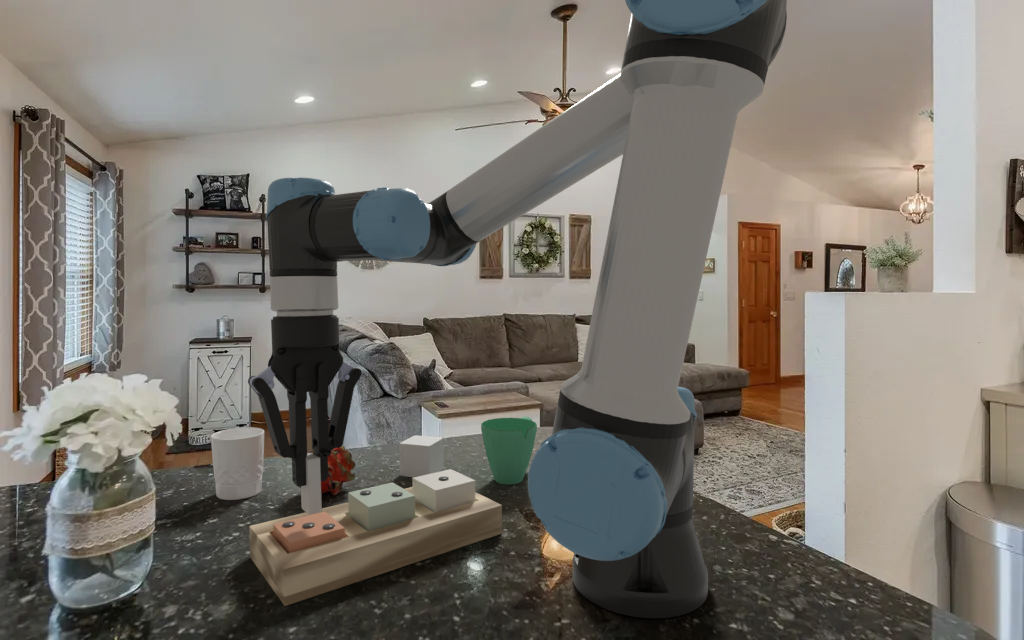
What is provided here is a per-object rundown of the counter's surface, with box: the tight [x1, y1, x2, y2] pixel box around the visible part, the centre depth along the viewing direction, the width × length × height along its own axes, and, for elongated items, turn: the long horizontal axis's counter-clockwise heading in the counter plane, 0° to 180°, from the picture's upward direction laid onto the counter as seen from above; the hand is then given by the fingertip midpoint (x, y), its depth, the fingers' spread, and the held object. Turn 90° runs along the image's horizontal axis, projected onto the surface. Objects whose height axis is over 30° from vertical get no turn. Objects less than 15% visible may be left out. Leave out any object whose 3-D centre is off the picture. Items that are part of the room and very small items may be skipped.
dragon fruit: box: [299, 445, 356, 497], centre depth 93 cm, size 8×8×12 cm
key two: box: [347, 482, 415, 531], centre depth 75 cm, size 6×6×4 cm
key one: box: [411, 468, 476, 512], centre depth 80 cm, size 6×6×4 cm
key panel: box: [249, 486, 503, 607], centre depth 75 cm, size 14×29×4 cm, turn 128°
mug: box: [480, 416, 538, 486], centre depth 102 cm, size 15×10×10 cm
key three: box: [273, 512, 345, 554], centre depth 69 cm, size 6×6×4 cm
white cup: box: [210, 426, 265, 501], centre depth 93 cm, size 8×8×10 cm
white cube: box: [398, 434, 445, 478], centre depth 104 cm, size 6×6×6 cm
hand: (311, 509), depth 68 cm, fingers closed
